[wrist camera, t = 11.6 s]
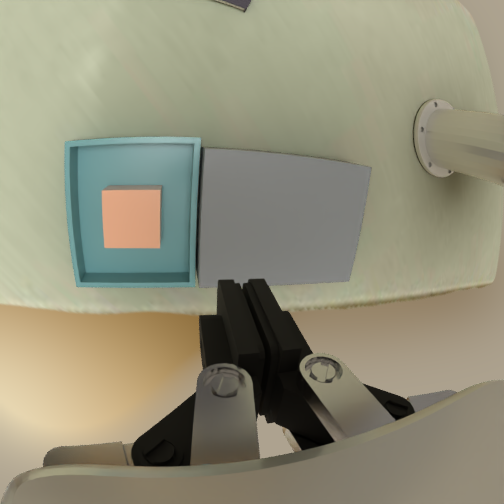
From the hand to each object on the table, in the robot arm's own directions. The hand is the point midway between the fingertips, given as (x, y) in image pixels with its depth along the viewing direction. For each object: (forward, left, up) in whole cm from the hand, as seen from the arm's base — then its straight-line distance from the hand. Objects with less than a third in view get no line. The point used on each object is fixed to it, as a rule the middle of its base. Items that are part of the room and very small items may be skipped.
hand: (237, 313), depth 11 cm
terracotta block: (+7, +2, -19) cm, 21 cm away
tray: (+7, +2, -23) cm, 24 cm away
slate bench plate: (-9, +2, -23) cm, 25 cm away
